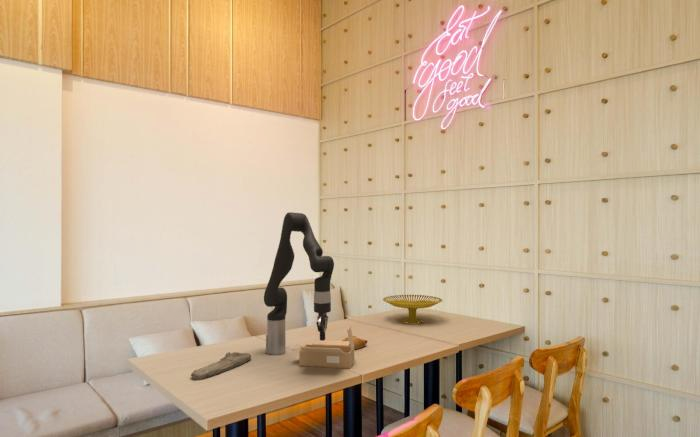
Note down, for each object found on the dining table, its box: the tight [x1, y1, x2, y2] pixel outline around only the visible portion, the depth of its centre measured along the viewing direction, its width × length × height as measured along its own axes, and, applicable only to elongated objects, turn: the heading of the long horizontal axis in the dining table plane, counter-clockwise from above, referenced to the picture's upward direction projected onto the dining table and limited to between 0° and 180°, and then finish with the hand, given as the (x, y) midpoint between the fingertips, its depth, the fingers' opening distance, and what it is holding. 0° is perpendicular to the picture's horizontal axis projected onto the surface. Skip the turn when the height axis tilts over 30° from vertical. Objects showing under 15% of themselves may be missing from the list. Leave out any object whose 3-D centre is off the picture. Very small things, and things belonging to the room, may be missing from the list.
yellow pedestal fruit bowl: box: [382, 294, 443, 324], centre depth 306 cm, size 40×40×15 cm
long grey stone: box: [190, 351, 252, 381], centre depth 208 cm, size 35×5×10 cm
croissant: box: [340, 335, 368, 351], centre depth 241 cm, size 21×10×8 cm, turn 121°
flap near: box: [300, 347, 343, 353], centre depth 204 cm, size 1×18×10 cm
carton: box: [292, 339, 355, 370], centre depth 219 cm, size 28×20×7 cm
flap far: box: [347, 325, 354, 351], centre depth 213 cm, size 1×7×10 cm, turn 171°
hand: (322, 340), depth 201 cm, fingers closed
